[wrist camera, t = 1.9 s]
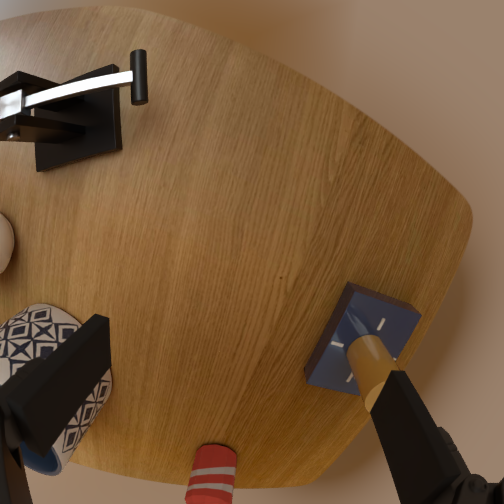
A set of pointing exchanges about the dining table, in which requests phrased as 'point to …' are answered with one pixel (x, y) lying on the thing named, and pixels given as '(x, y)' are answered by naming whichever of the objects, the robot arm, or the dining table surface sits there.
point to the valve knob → (370, 367)
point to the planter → (43, 344)
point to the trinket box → (5, 242)
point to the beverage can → (212, 476)
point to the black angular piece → (65, 121)
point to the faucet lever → (82, 89)
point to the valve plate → (358, 334)
